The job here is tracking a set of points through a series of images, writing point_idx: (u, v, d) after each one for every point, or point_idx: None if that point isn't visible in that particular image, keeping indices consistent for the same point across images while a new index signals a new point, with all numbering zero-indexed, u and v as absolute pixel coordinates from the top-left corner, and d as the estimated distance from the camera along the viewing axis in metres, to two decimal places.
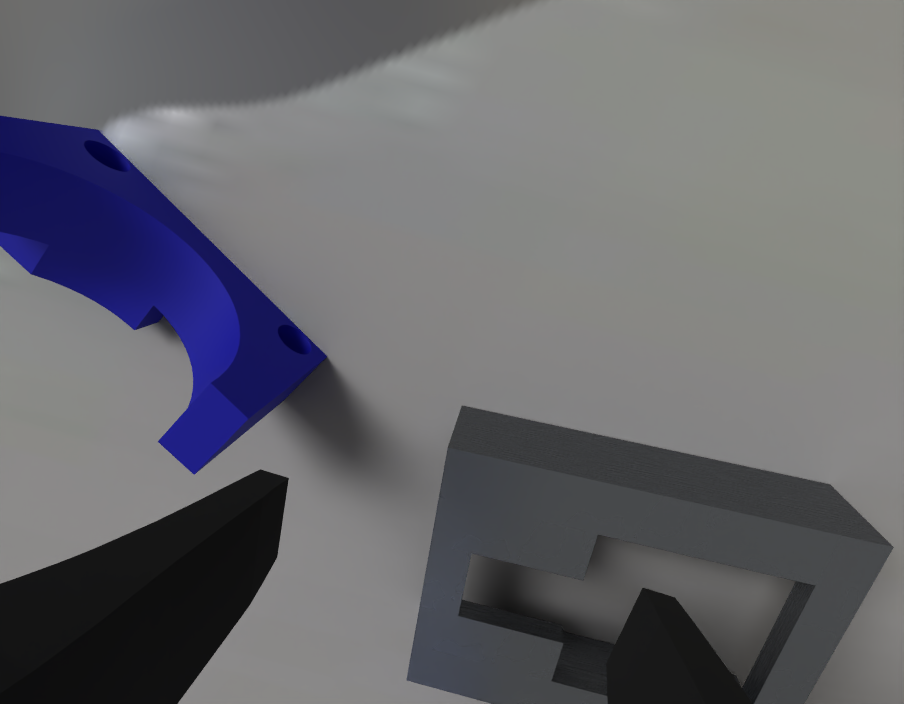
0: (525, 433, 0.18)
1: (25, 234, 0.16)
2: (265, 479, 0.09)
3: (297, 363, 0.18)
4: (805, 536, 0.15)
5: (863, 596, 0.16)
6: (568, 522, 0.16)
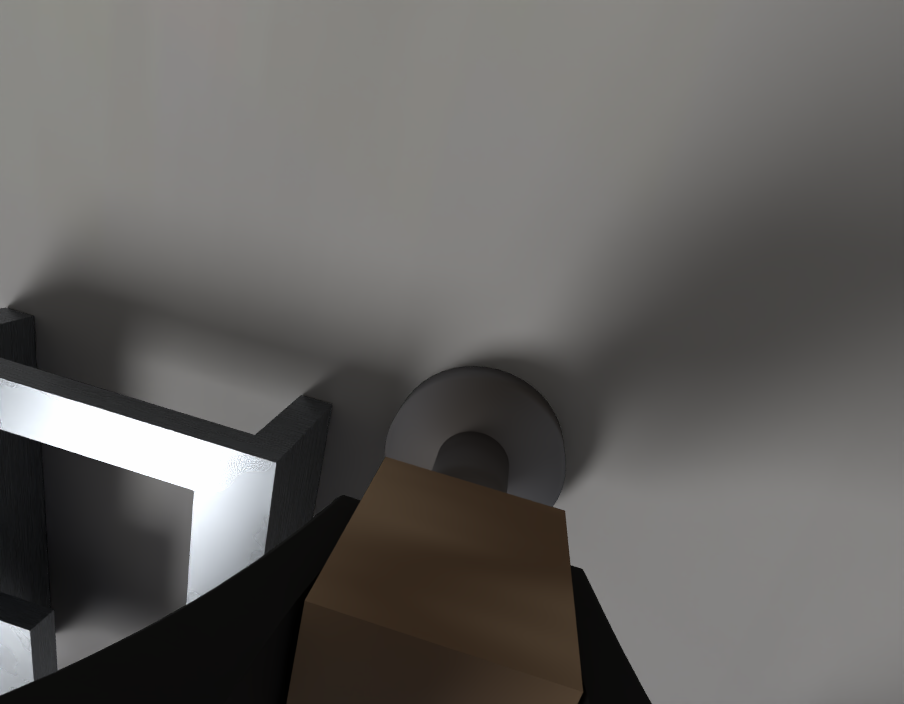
0: None
1: None
2: (352, 506, 0.09)
3: None
4: None
5: None
6: None
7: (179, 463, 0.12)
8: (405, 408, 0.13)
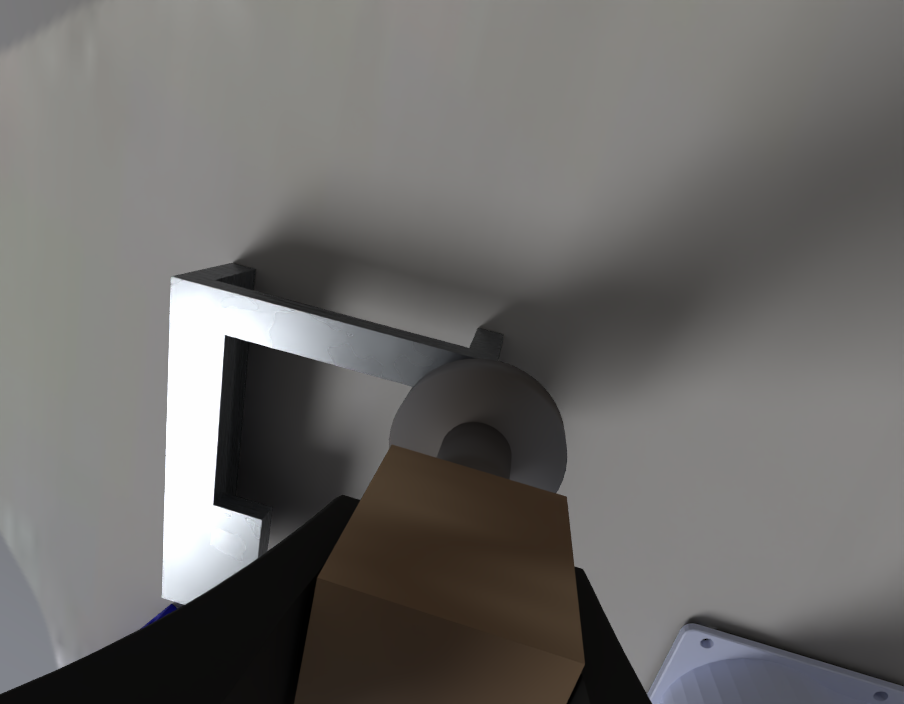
0: None
1: None
2: (351, 506, 0.09)
3: None
4: (178, 347, 0.17)
5: (228, 291, 0.16)
6: (206, 525, 0.19)
7: (416, 368, 0.16)
8: (409, 399, 0.13)
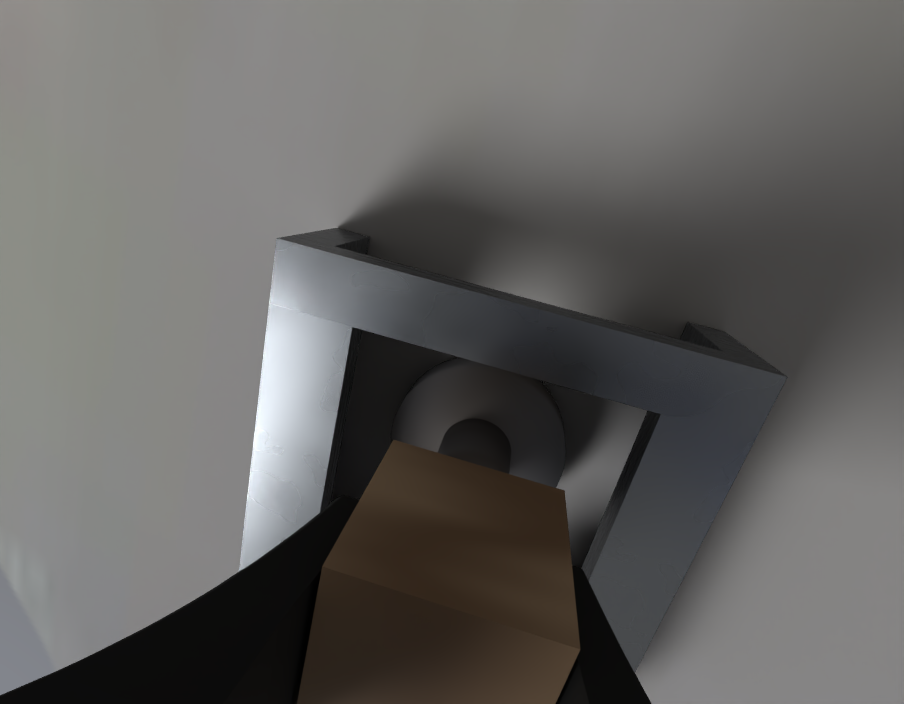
0: None
1: None
2: (352, 506, 0.09)
3: None
4: (278, 345, 0.11)
5: (365, 261, 0.10)
6: None
7: (652, 381, 0.10)
8: (410, 396, 0.14)
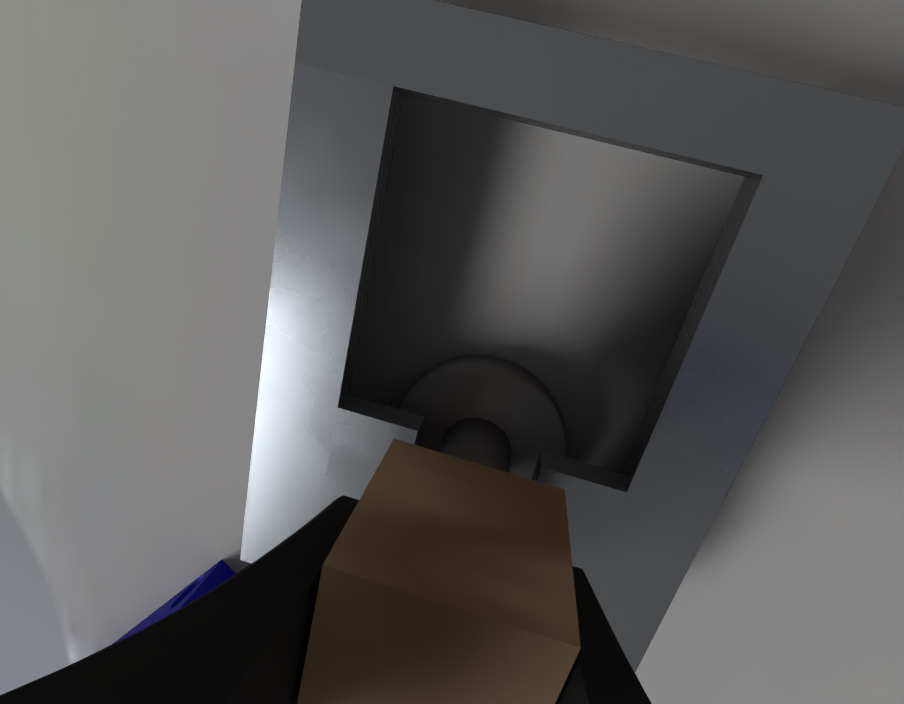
0: None
1: None
2: (352, 506, 0.09)
3: (180, 604, 0.17)
4: (304, 118, 0.10)
5: None
6: (323, 442, 0.12)
7: (755, 130, 0.09)
8: (411, 395, 0.14)
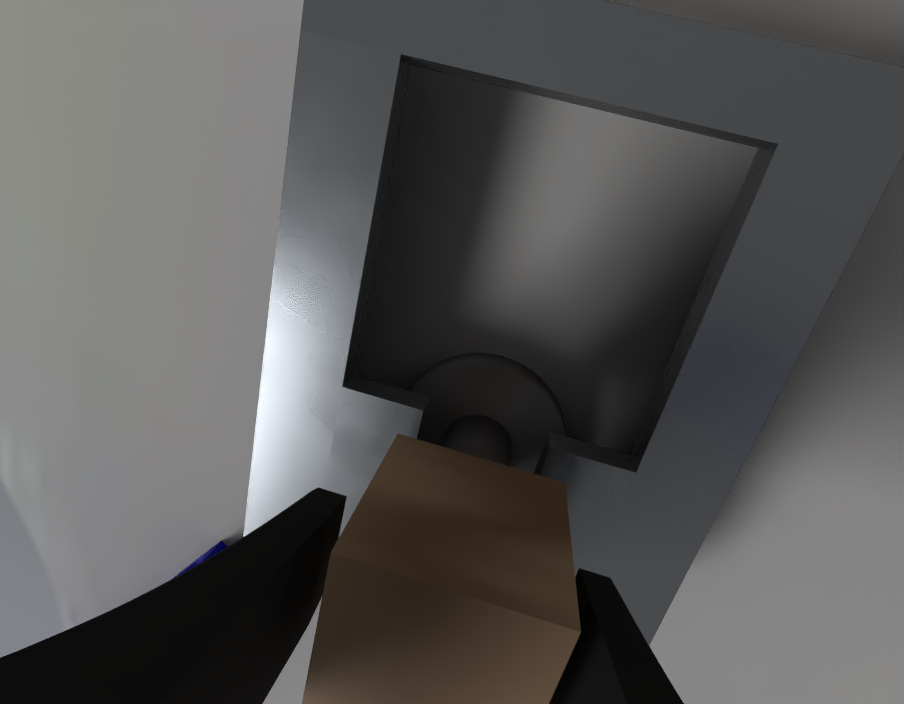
0: None
1: None
2: (325, 499, 0.09)
3: None
4: (310, 88, 0.10)
5: None
6: (327, 422, 0.12)
7: (771, 97, 0.08)
8: None
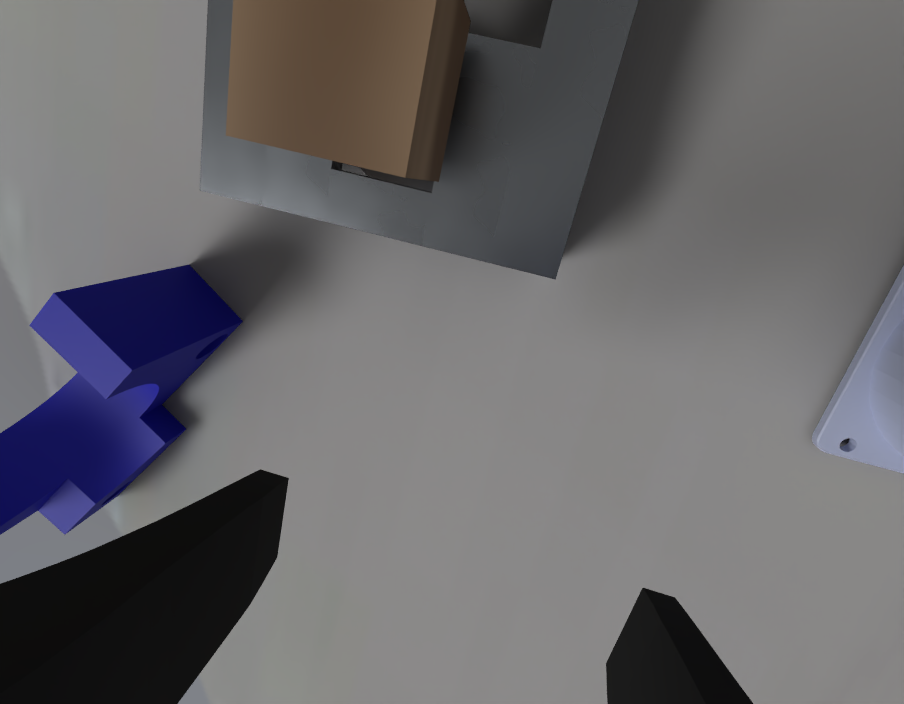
0: None
1: (47, 489, 0.20)
2: (265, 480, 0.09)
3: None
4: None
5: None
6: None
7: None
8: None
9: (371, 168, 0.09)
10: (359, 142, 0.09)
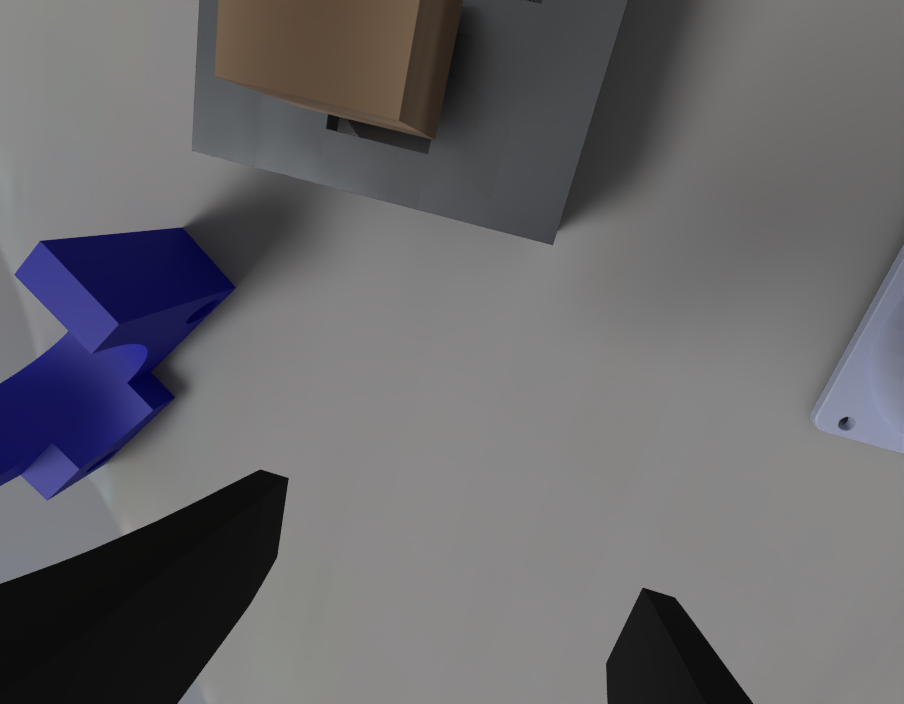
0: None
1: (30, 452, 0.19)
2: (265, 480, 0.09)
3: None
4: None
5: None
6: None
7: None
8: None
9: (364, 110, 0.09)
10: (352, 83, 0.09)
